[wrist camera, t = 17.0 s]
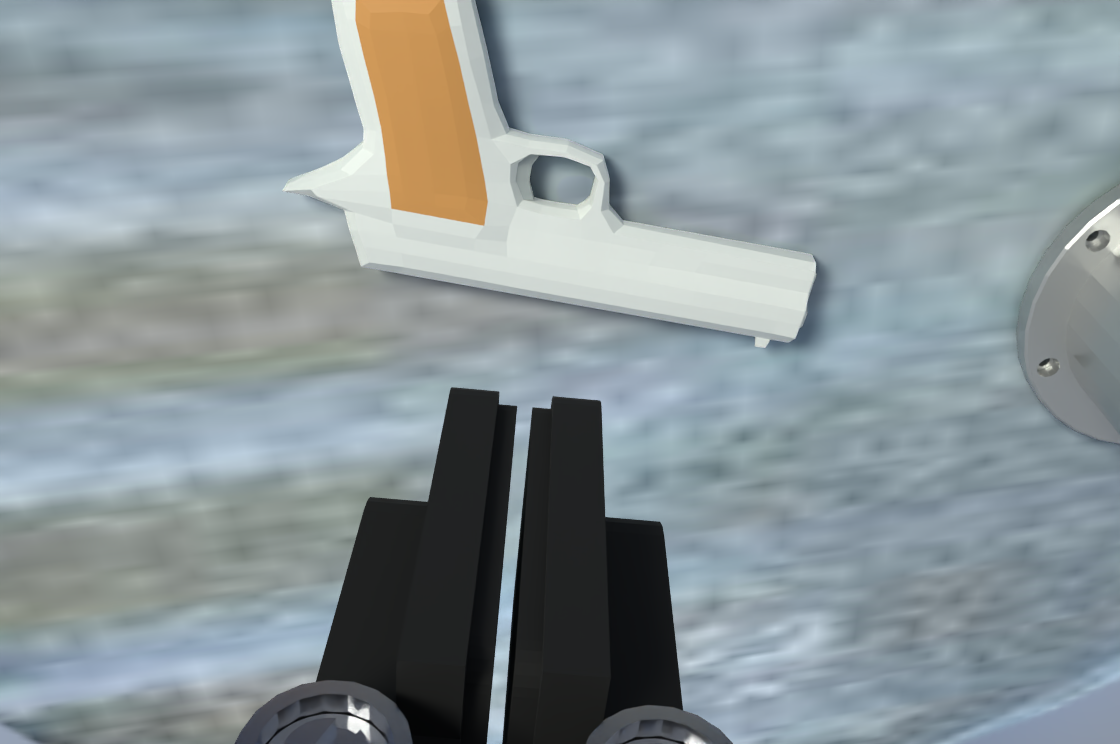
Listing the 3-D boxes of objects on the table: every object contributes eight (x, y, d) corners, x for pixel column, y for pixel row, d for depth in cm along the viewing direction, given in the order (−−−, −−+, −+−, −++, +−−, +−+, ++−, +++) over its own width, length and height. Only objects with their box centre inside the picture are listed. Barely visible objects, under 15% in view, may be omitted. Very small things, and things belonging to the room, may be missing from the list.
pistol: (886, 53, 36) (784, 330, 42) (310, -70, 34) (287, 241, 40) (906, 73, 34) (796, 361, 40) (295, -58, 32) (273, 269, 37)
